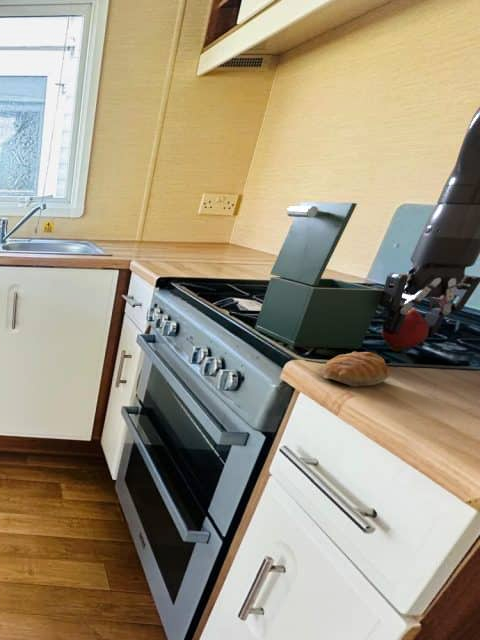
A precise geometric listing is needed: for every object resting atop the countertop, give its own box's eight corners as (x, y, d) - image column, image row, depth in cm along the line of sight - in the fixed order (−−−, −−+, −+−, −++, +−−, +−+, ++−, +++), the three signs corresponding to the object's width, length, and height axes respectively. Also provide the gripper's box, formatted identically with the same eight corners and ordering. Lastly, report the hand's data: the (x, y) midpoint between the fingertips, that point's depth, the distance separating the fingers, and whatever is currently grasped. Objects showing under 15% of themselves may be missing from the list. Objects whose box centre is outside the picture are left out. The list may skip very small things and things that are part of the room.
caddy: (313, 330, 89) (333, 278, 84) (360, 348, 78) (385, 290, 74) (254, 328, 89) (270, 276, 84) (292, 346, 78) (314, 288, 74)
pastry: (361, 393, 59) (372, 368, 58) (307, 376, 64) (316, 353, 63) (388, 381, 63) (399, 358, 62) (335, 367, 69) (344, 344, 67)
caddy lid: (305, 202, 79) (280, 198, 78) (357, 203, 68) (328, 198, 68) (273, 274, 84) (249, 270, 84) (317, 286, 73) (290, 281, 73)
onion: (412, 350, 78) (433, 307, 75) (421, 358, 74) (444, 314, 71) (371, 343, 81) (390, 302, 78) (378, 351, 77) (397, 308, 73)
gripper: (433, 235, 65) (386, 339, 72) (525, 237, 65) (470, 341, 72) (388, 231, 72) (350, 326, 79) (472, 234, 72) (426, 328, 79)
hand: (407, 333), depth 75 cm, fingers closed on onion, 6 cm apart
